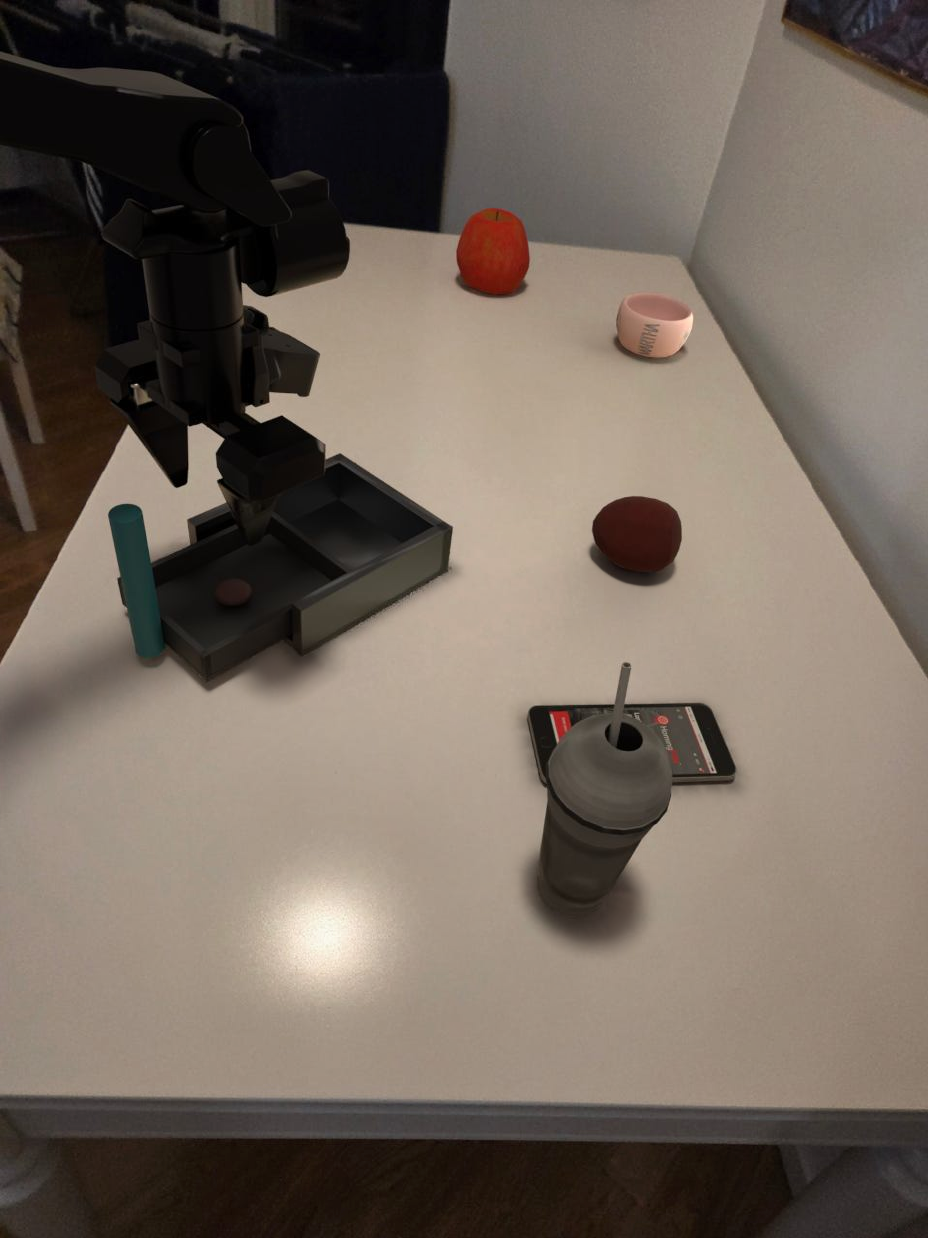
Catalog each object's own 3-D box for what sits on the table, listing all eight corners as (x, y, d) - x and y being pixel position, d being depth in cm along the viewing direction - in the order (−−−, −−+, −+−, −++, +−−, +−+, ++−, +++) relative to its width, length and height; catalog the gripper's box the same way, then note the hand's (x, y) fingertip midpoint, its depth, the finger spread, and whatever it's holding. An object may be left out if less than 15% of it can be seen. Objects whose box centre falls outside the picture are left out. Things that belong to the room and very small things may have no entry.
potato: (589, 529, 88) (604, 470, 83) (673, 548, 87) (693, 489, 83) (580, 574, 83) (596, 514, 78) (670, 594, 82) (691, 534, 77)
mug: (682, 371, 116) (695, 328, 112) (608, 357, 117) (618, 314, 113) (683, 334, 125) (695, 293, 121) (614, 321, 126) (624, 279, 122)
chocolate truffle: (254, 588, 74) (253, 573, 73) (250, 612, 72) (249, 598, 71) (217, 587, 74) (216, 572, 73) (213, 611, 71) (211, 596, 70)
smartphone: (526, 705, 69) (709, 702, 71) (525, 711, 69) (706, 708, 71) (543, 782, 63) (740, 776, 66) (542, 788, 64) (737, 781, 66)
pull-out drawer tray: (302, 657, 71) (301, 611, 68) (192, 565, 78) (186, 519, 74) (447, 570, 81) (453, 526, 78) (339, 495, 88) (340, 452, 84)
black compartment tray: (181, 697, 65) (159, 561, 57) (97, 616, 70) (64, 479, 62) (356, 598, 75) (360, 469, 67) (270, 533, 81) (264, 406, 72)
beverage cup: (572, 960, 55) (653, 758, 41) (493, 877, 58) (544, 665, 45) (647, 895, 58) (744, 690, 45) (568, 820, 62) (636, 611, 49)
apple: (449, 267, 134) (456, 193, 127) (519, 272, 136) (530, 199, 128) (456, 297, 126) (464, 220, 119) (530, 301, 128) (543, 225, 121)
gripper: (392, 335, 56) (380, 531, 67) (215, 239, 64) (230, 427, 75) (247, 384, 49) (260, 594, 60) (72, 270, 58) (110, 471, 68)
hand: (216, 513), depth 66 cm, fingers open, 9 cm apart
